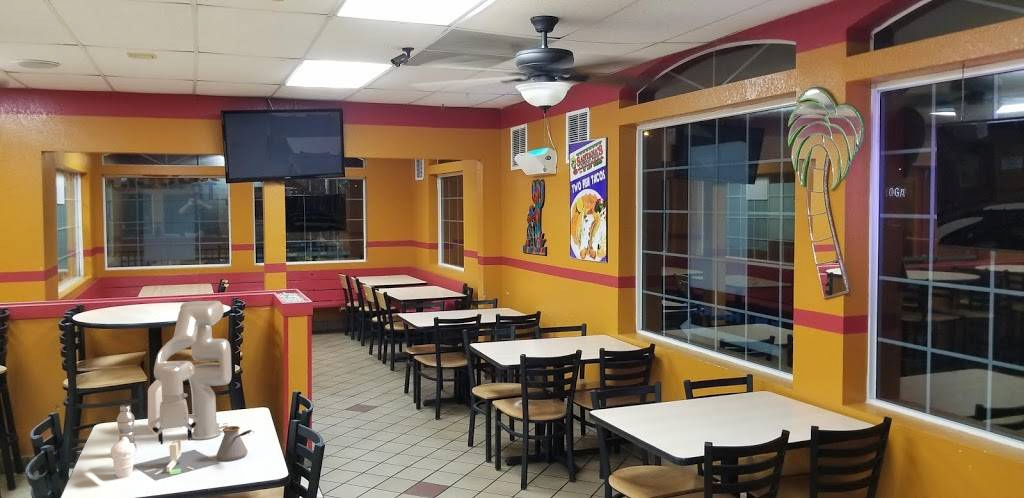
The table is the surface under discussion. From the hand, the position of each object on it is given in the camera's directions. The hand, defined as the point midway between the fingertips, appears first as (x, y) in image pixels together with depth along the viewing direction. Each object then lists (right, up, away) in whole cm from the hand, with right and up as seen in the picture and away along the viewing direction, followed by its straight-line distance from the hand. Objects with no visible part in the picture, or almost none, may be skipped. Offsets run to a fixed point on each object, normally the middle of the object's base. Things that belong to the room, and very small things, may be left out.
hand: (175, 441), depth 289 cm
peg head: (+1, -9, -4) cm, 9 cm away
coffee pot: (+23, -10, +4) cm, 25 cm away
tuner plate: (0, -10, 0) cm, 10 cm away
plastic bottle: (-27, -10, +18) cm, 34 cm away
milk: (-28, -8, +51) cm, 59 cm away
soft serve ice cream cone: (-14, -11, -11) cm, 21 cm away
